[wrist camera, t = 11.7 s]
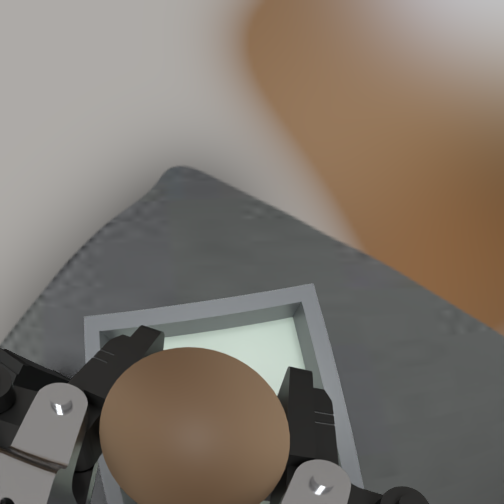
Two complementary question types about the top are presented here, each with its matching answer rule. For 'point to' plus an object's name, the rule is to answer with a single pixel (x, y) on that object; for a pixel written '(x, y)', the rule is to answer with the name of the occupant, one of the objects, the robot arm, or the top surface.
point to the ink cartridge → (28, 372)
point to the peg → (194, 430)
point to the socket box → (242, 349)
